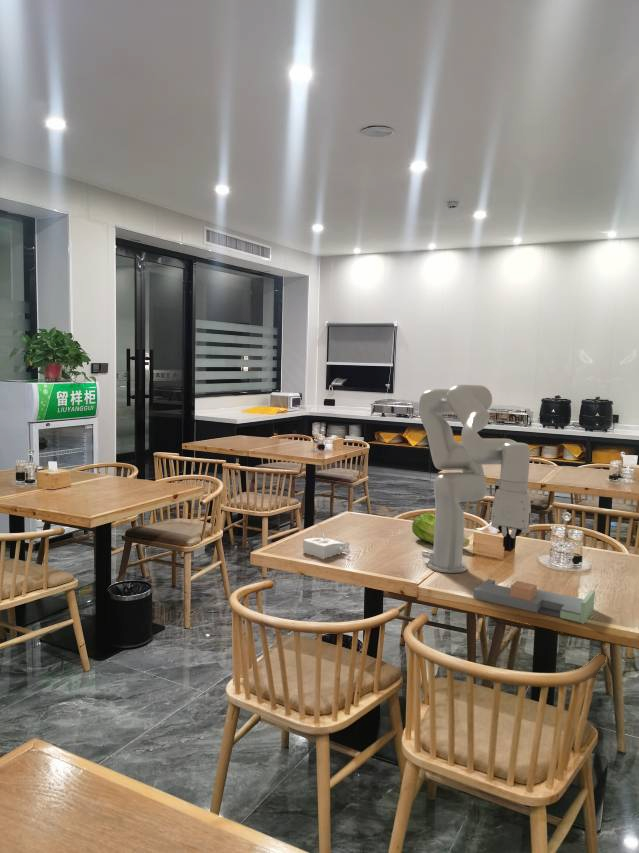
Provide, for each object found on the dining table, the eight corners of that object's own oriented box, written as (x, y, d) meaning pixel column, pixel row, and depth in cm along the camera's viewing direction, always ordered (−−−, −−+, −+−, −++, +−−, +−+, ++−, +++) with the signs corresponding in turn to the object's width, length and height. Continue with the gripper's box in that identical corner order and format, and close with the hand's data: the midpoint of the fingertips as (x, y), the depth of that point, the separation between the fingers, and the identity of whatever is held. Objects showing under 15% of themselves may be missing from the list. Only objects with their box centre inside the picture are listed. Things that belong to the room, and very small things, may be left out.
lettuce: (452, 542, 224) (473, 518, 230) (402, 523, 243) (422, 501, 249) (462, 565, 230) (482, 541, 235) (413, 545, 249) (432, 523, 254)
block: (510, 596, 178) (510, 585, 178) (516, 591, 183) (517, 580, 183) (530, 600, 175) (530, 590, 175) (535, 595, 180) (536, 585, 179)
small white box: (363, 562, 222) (332, 563, 211) (321, 550, 236) (290, 550, 224) (367, 539, 223) (336, 539, 211) (325, 528, 236) (294, 527, 225)
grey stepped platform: (472, 597, 183) (474, 579, 183) (488, 585, 194) (489, 568, 194) (583, 623, 167) (585, 603, 166) (593, 609, 178) (595, 589, 177)
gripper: (483, 484, 180) (478, 548, 182) (537, 492, 172) (531, 558, 174) (491, 481, 186) (487, 542, 188) (544, 488, 178) (539, 552, 180)
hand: (508, 550), depth 181 cm, fingers closed
